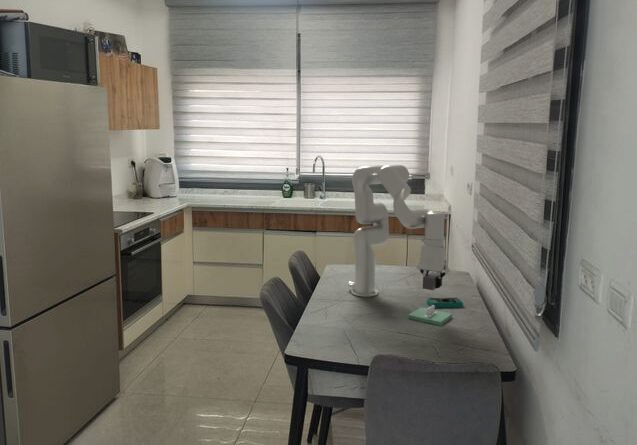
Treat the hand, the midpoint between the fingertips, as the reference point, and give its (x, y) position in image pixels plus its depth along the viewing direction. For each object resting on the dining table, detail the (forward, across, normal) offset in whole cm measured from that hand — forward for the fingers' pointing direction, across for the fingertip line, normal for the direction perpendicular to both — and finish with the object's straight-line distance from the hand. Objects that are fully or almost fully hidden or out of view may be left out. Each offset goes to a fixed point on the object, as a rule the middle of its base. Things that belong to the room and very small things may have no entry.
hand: (432, 286), depth 222 cm
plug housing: (0, 0, 0) cm, 0 cm away
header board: (+14, -1, 0) cm, 14 cm away
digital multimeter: (+14, -2, +20) cm, 24 cm away
